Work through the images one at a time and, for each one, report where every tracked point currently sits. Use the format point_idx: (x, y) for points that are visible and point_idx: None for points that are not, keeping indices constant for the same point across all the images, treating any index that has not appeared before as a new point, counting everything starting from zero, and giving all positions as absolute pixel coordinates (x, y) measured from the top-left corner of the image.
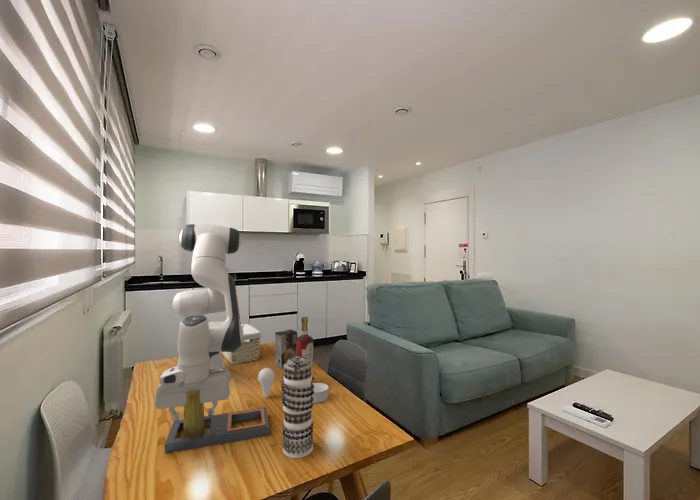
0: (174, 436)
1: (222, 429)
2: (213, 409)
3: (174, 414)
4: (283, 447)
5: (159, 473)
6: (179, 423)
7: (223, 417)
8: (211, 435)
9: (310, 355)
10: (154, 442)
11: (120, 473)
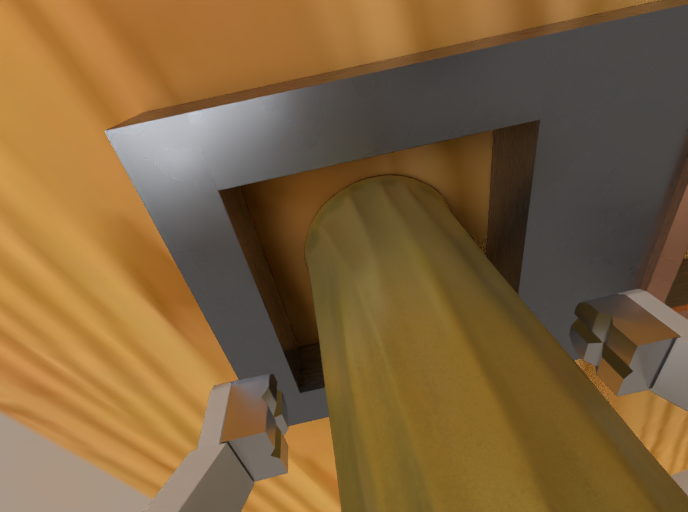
0: (286, 372)
1: None
2: (684, 393)
3: (240, 503)
4: None
5: (317, 464)
6: (216, 194)
7: (658, 117)
8: None
9: None
10: (119, 294)
11: (151, 473)
